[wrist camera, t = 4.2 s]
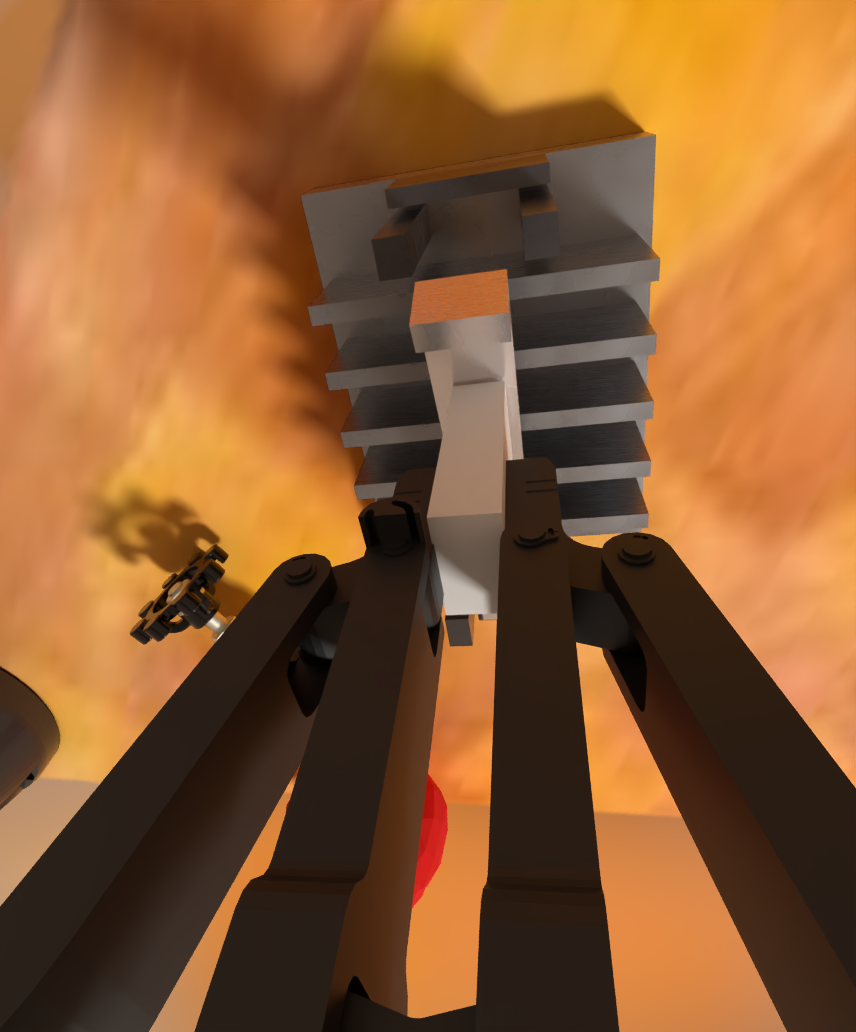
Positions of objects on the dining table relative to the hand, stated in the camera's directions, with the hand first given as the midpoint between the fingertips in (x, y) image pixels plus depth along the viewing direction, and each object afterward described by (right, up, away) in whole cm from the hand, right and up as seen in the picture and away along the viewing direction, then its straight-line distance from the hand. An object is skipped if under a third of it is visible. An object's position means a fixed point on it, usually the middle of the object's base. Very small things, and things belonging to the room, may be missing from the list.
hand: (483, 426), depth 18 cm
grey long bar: (+1, -2, +4) cm, 4 cm away
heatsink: (+1, +4, +11) cm, 11 cm away
